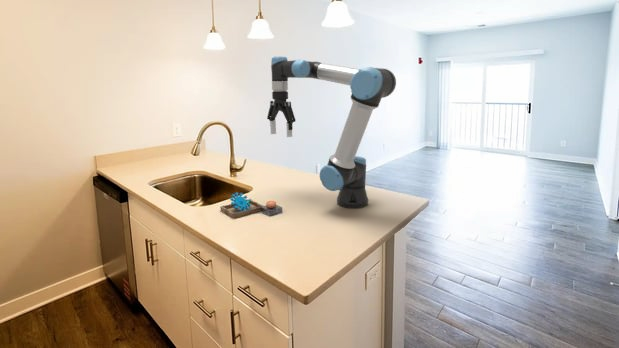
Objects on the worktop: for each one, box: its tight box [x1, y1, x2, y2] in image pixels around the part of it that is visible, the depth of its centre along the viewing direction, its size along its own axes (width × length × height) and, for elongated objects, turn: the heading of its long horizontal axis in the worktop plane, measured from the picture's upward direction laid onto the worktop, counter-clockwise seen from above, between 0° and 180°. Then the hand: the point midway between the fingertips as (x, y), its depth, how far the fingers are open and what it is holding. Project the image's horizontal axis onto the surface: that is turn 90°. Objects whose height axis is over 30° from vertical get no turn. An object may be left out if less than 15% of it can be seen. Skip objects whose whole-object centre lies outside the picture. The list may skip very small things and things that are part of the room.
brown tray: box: [219, 199, 264, 220], centre depth 159 cm, size 13×16×2 cm
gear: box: [229, 192, 252, 212], centre depth 159 cm, size 11×6×10 cm
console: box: [260, 204, 283, 217], centre depth 157 cm, size 7×7×2 cm
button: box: [265, 200, 277, 209], centre depth 156 cm, size 4×4×3 cm
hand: (281, 135), depth 171 cm, fingers open, 13 cm apart
